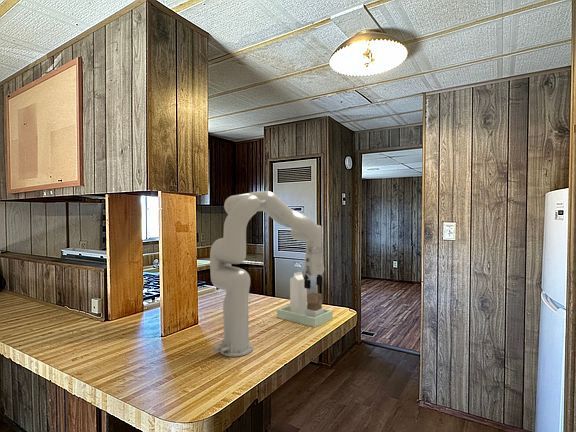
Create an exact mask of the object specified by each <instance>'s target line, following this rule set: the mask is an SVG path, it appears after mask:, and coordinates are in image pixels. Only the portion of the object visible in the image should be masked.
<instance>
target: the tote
mask: <svg viewBox="0 0 576 432" xmlns="http://www.w3.org/2000/svg"><path fill="white" fill-rule="evenodd" d="M276 317H277V319H283V320H284V321H289V322H294V323H298V324H301V325H305V326H307V327H308V326H309V327H313V328H317V327H319V326H321V325H323V324H325V323H327V322H329V321H331V320H333V319H334V317H333V309H327V308H324V313H323V314H321V315H319V316H317V317H310V316H306V315H302V314H297V313H293V312H290V304H287V305H285V306H282V307H280V308H277V309H276ZM316 326H317V327H316Z"/></svg>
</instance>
